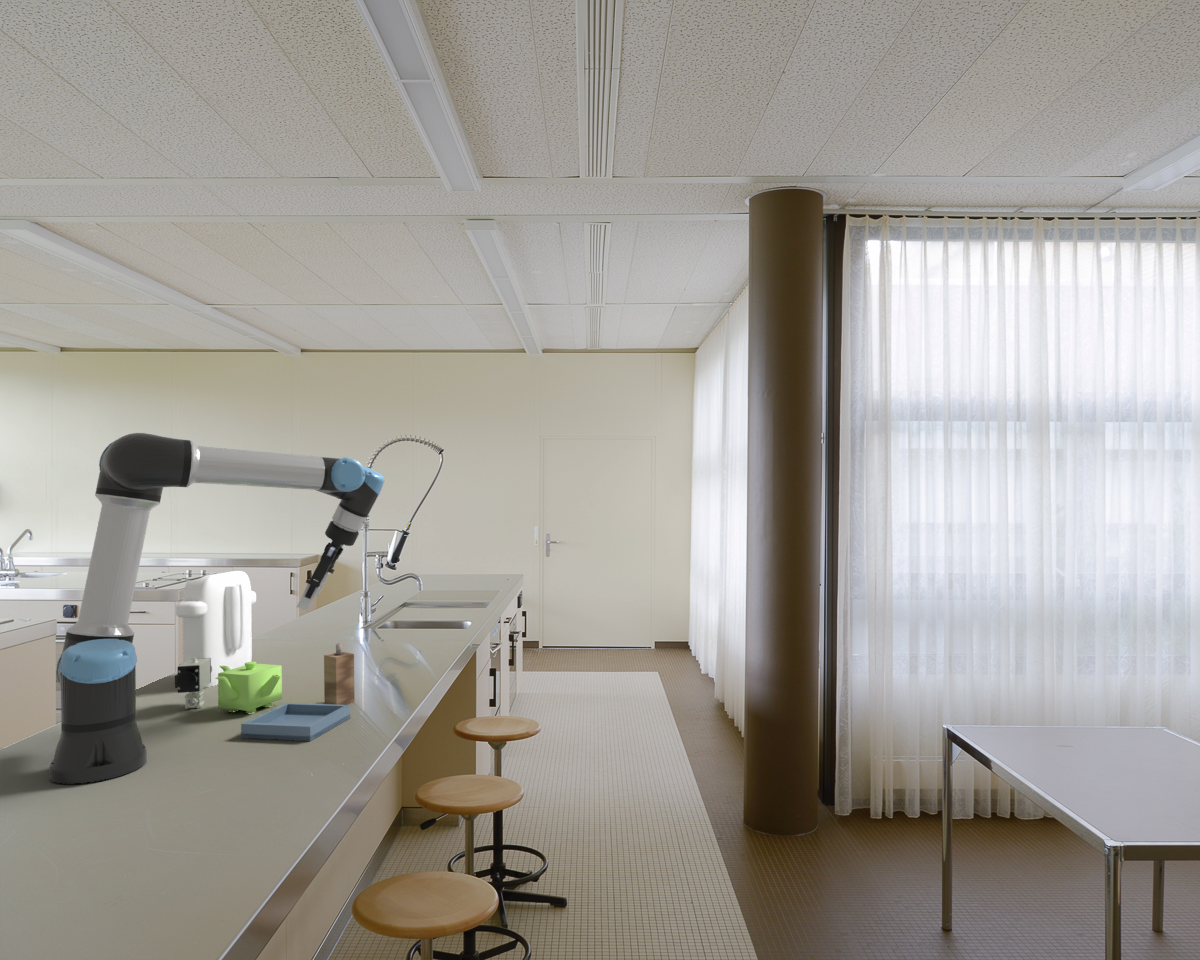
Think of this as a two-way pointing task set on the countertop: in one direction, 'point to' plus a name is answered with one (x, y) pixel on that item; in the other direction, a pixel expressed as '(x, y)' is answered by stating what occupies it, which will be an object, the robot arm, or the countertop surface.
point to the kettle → (249, 686)
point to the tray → (296, 721)
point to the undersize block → (339, 677)
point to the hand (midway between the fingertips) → (308, 601)
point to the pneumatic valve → (193, 680)
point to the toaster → (218, 620)
